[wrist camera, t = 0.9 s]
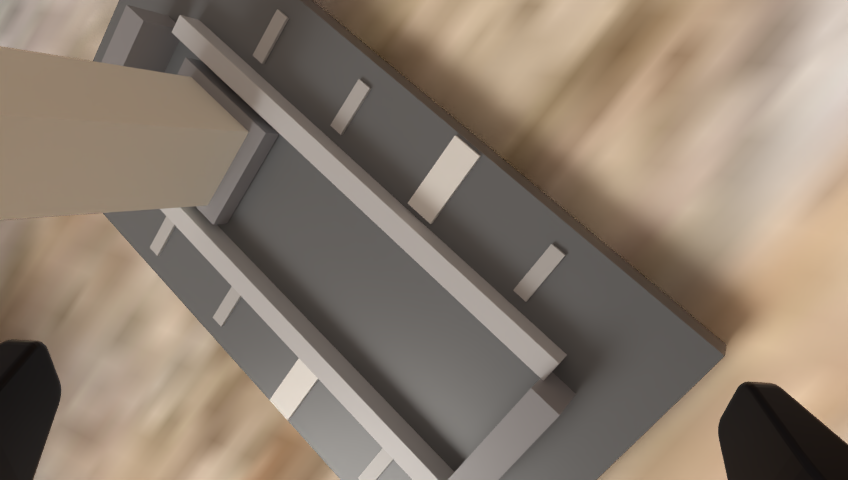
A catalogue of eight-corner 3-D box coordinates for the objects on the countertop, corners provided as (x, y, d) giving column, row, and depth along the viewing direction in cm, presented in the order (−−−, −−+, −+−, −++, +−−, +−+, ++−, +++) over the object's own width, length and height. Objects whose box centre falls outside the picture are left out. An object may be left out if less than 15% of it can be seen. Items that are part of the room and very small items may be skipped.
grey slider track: (726, 344, 18) (722, 375, 15) (472, 590, 22) (435, 648, 20) (192, -99, 25) (125, -132, 22) (77, 156, 29) (8, 155, 26)
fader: (279, 134, 22) (-49, 111, 13) (227, 223, 24) (-101, 259, 15) (200, 60, 24) (-150, -8, 14) (155, 149, 25) (-189, 139, 16)
